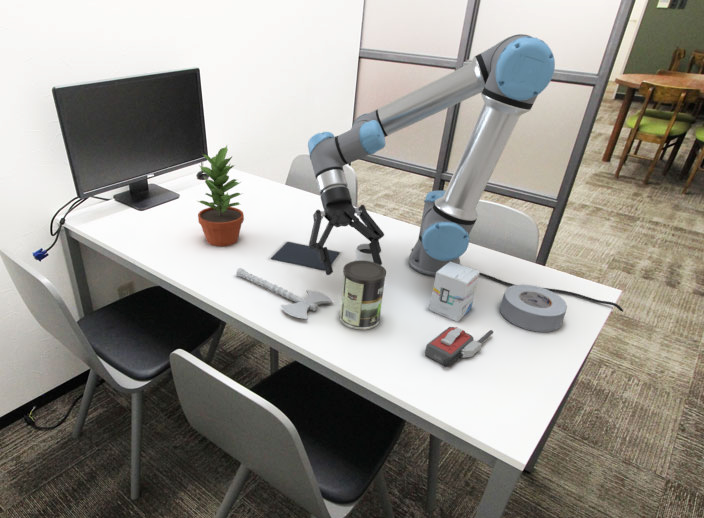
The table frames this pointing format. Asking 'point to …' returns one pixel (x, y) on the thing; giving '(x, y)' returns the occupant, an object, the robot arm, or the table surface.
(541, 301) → the tape roll
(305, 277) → the table surface
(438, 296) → the ink box
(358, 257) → the white coffee cup
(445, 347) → the walkie-talkie
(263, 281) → the axe
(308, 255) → the felt pad
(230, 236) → the potted plant
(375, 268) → the coffee can
